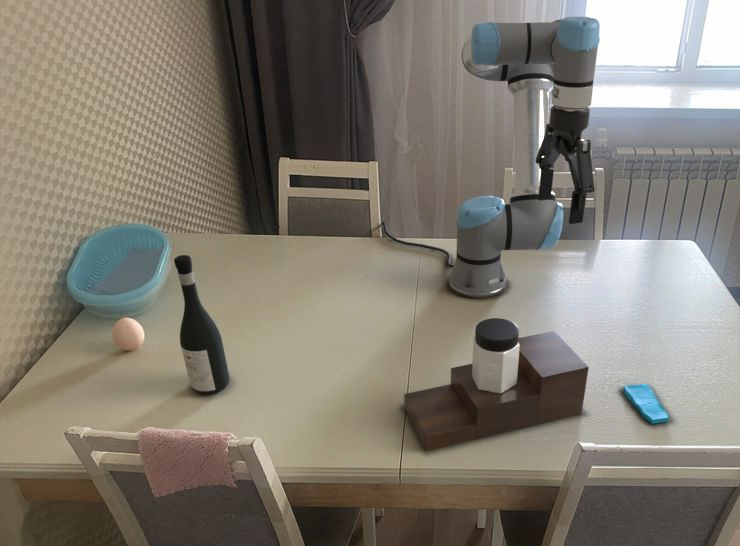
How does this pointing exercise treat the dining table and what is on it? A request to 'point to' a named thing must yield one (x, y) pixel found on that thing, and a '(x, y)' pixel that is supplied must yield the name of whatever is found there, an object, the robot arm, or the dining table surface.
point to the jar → (495, 355)
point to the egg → (128, 334)
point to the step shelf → (502, 396)
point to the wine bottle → (200, 338)
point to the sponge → (646, 402)
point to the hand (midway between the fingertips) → (559, 210)
